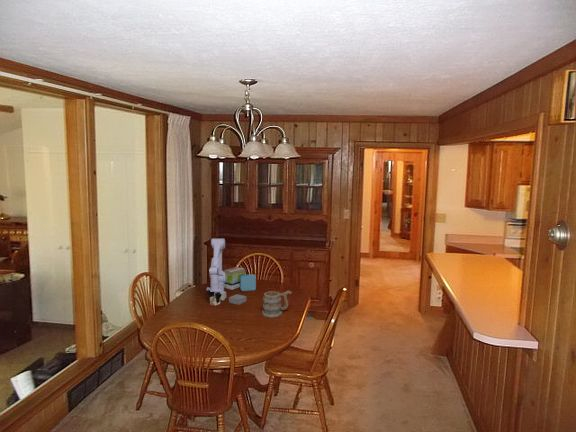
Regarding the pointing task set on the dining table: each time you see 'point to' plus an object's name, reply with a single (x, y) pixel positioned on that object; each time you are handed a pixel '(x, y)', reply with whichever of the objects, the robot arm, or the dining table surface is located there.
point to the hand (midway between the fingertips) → (215, 301)
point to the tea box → (233, 277)
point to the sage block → (223, 296)
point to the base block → (237, 299)
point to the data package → (248, 282)
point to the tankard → (274, 303)
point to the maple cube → (213, 301)
